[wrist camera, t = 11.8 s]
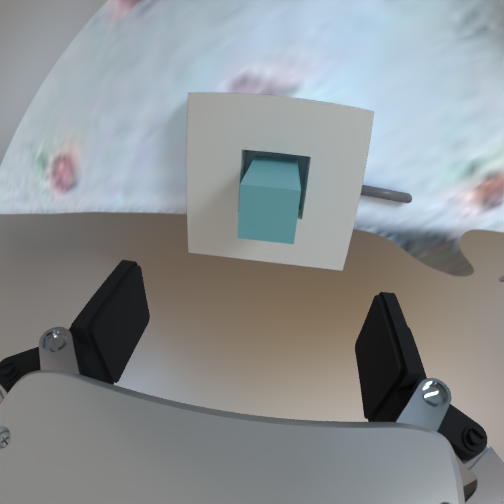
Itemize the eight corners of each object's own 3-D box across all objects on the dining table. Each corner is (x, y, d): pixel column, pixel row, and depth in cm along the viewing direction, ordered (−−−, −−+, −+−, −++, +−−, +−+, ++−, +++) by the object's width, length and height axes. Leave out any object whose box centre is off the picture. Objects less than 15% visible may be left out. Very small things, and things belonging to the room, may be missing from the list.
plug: (297, 159, 28) (300, 190, 19) (292, 197, 30) (293, 244, 21) (255, 155, 28) (239, 184, 19) (253, 193, 30) (237, 238, 21)
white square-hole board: (424, 124, 24) (437, 128, 21) (390, 262, 32) (398, 276, 29) (198, 92, 25) (188, 92, 23) (196, 239, 33) (188, 252, 31)
